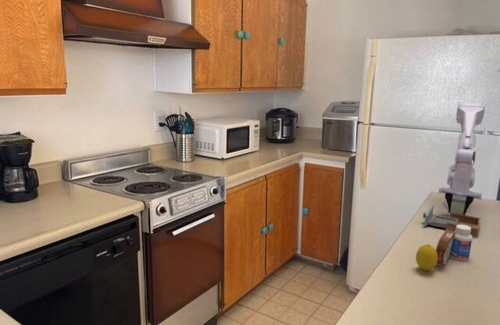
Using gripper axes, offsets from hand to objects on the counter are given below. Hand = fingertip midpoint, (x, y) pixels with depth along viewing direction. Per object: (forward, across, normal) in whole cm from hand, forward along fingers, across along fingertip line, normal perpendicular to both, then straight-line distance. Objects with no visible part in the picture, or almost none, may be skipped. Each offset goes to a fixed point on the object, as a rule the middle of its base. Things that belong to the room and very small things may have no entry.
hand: (456, 213), depth 152 cm
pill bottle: (+2, +4, -37) cm, 37 cm away
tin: (+2, +1, -42) cm, 42 cm away
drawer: (+1, -4, -11) cm, 11 cm away
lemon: (+2, -3, -52) cm, 52 cm away
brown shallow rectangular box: (+2, +3, -10) cm, 11 cm away
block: (+2, 0, 0) cm, 2 cm away
